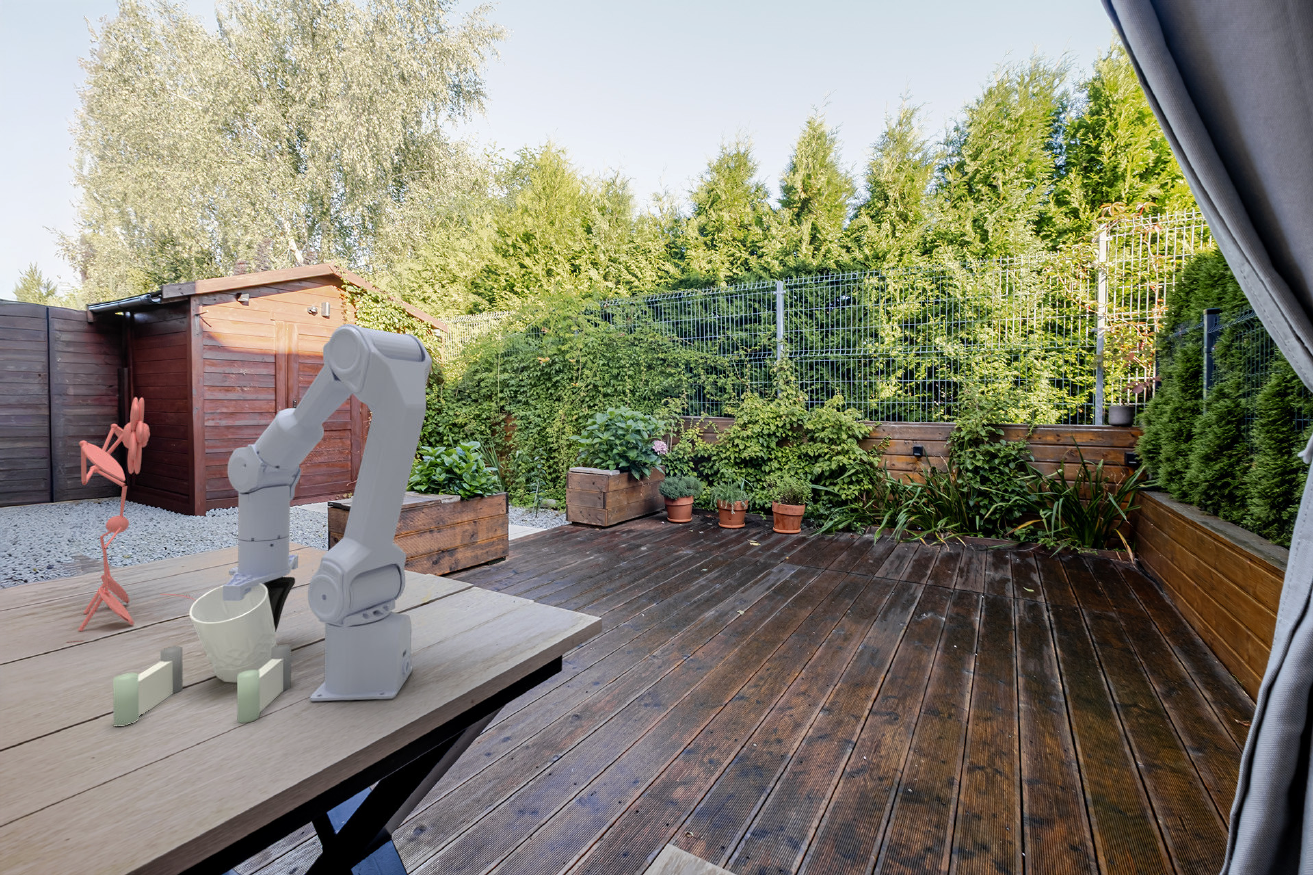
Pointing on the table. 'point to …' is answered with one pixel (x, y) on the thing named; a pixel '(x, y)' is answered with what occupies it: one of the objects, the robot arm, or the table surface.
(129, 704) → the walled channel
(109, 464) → the figurine
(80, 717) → the table surface
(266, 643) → the white cup
